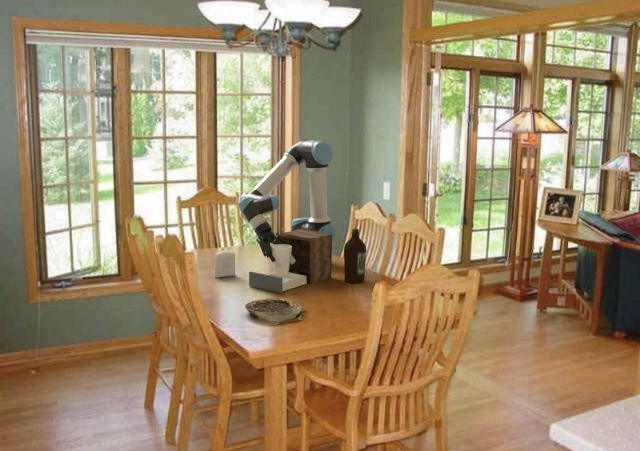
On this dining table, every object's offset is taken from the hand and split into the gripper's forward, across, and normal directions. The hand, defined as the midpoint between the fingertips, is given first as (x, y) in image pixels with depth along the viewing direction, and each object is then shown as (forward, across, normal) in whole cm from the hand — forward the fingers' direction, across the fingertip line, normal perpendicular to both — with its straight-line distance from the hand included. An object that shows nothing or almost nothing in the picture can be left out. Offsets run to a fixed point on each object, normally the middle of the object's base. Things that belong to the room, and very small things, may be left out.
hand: (286, 264), depth 299 cm
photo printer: (-17, +5, -32) cm, 37 cm away
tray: (+5, +2, -9) cm, 10 cm away
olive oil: (+21, -27, +6) cm, 35 cm away
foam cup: (+1, 0, -6) cm, 6 cm away
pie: (+23, +36, +8) cm, 43 cm away
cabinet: (+5, -17, -9) cm, 20 cm away
